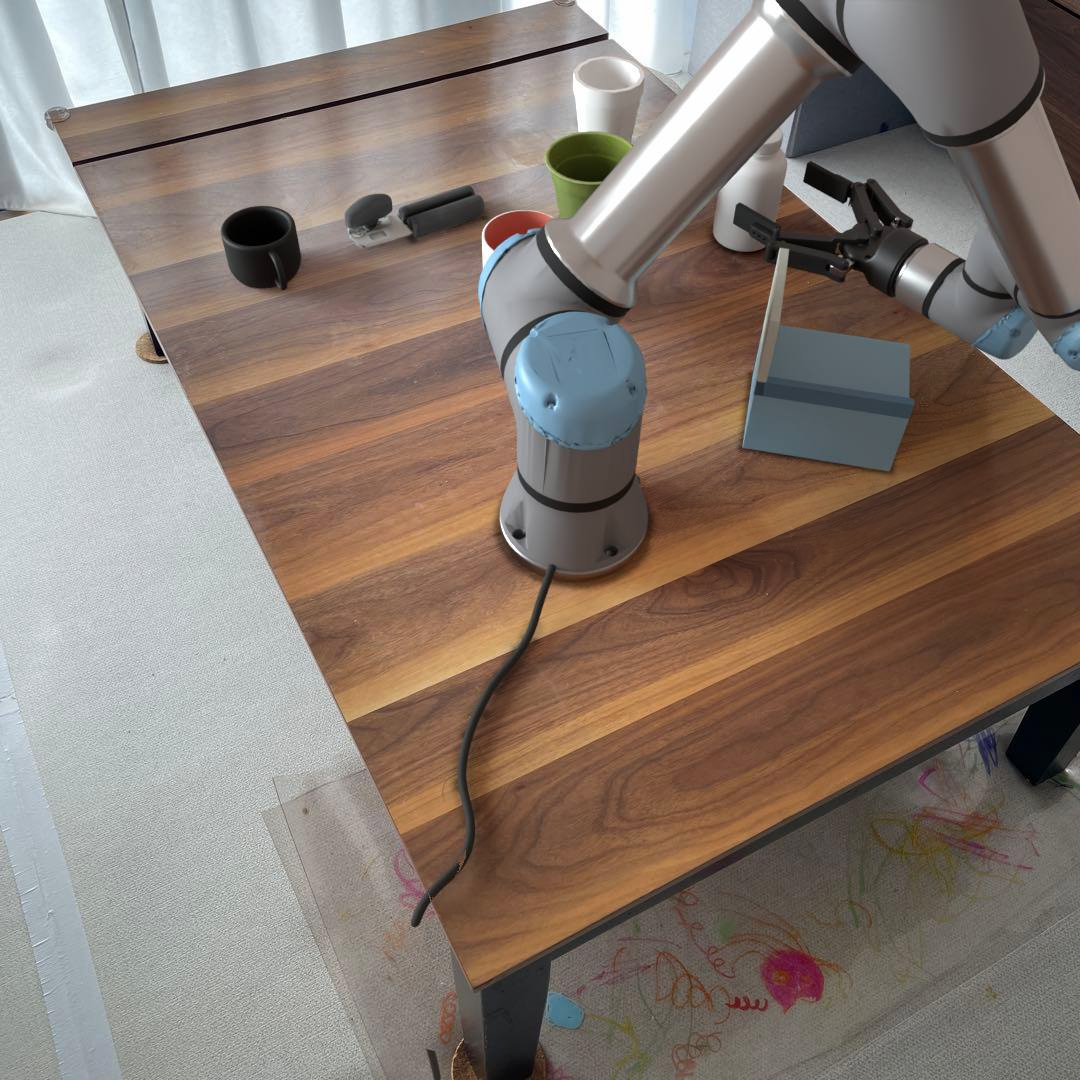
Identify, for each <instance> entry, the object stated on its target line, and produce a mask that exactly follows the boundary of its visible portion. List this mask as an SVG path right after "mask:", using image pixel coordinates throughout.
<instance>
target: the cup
mask: <svg viewBox="0 0 1080 1080" xmlns="http://www.w3.org/2000/svg"><path fill="white" fill-rule="evenodd" d="M552 218H555V217H554V216H552V215H550V214H548V213H545V212H542V211H538V210H532V209H517V210H511V211H507V212H503V213H500V214H498V215H496V216H495V217H493V218H492V219H490V220H489V221H488V222H487V223H486V224H485V226H484V227H483V228H482V232H481V245H482V246H481V250H482V252H481V253H482V268H483V267H484V265H485V263H486V261H487V260H488V258H489V257H490V255H491V254H492V253H493V251H494V250H495V249H496V248H497V247H498V246H499V245H500V244H501V243H503V242H504V241H505V240H507V239H508V238H510V237H511V236H513V235H515V234H517V233H518V234H520V235H523V234H527V232H528V230H530V229H535V228H542V227H543V226H544V225H545V224H546V223H547V222H548V221H549V220H550V219H552Z"/></svg>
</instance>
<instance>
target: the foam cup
mask: <svg viewBox="0 0 1080 1080" xmlns="http://www.w3.org/2000/svg"><path fill="white" fill-rule="evenodd" d="M645 77H646V76H645V73H644V69H643V68H642V67H641V66H640V65H638V64H637V63H635V62H634V61H632V60H630V59H626V58H623V57H619V56H606V55H604V56H603V55H602V56H597V57H591V58H587V59H586V60H584V61H582V62H580V63H578V64H577V65H576V67H575V69H574V70H573V77H572V79H573V80H572V91H573V95H574V99H575V107H576V118H577V128H578V132H588V131H597V132H605V133H610V134H614V135H617V136H619V137H622V138H624V139H626V140H627V141H629V142H630V143H631V144H632V139H633V134H634V130H635V126H636V121H637V117H638V111H639V107H640V103H641V99H642V96H643V94H644V90H645V79H646V78H645Z"/></svg>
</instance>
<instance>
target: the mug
mask: <svg viewBox="0 0 1080 1080" xmlns="http://www.w3.org/2000/svg"><path fill="white" fill-rule="evenodd" d="M220 238H221V241H222V246H223V250H224V253H225V256H226V261H227V264H228V268H229V271H230V272H231V274H232V275H233V277H234V278H235V279H236V280H237V281H238V282H239V283H241V284H242V285H243V286H246V287H249V288H251V289H252V288H253V289H258V290H259V289H260V290H265V289H266V290H267V289H273V288H278V289H279V290H280V291H285V290H287V289H288V282H290V281H291V280H292V279H293V278H295V276H296V275H297V274H298V272H299V270H300V267H301V263H302V253H301V252H302V251H301V248H300V243H299V242H300V241H299V237H298V232H297V226H296V223H295V220H294V217H292V215H291V214H290V213H289V212H287V211H286V210H284V209H282V208H279V207H276V206H271V205H253V206H248V207H244V208H241V209H239V210H237V211H235V212H233V213H232V214H230V215H229V216H228V217H227V218H226V219H225V220H224V221H223V223H222V225H221V227H220Z"/></svg>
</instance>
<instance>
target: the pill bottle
mask: <svg viewBox="0 0 1080 1080" xmlns="http://www.w3.org/2000/svg"><path fill="white" fill-rule="evenodd" d="M783 140H784V132H783V130H782V129H781V128H780V127H779V128H778V129H777V130H776V131H775V132H774V133H773V134H772V136H771V137H770V138H769V139H768V140H767V141H766V142H765V143H764V144H763V145H762V146H761V147H760V148H759V149H758V150H757V152H756V153H755V154H754V155H753V156H752V157H751V158H750V159H749V160H748V161H747V162H746V163H745V164H744V165H743V167H742V168H741V169H740V170H739V171H738V172H737V173H736V174H735V175H734V176H733V177H732V178H731V179H730V180H729V182H728V183H727V184H726V185H725V186H724V187H723V188H722V189H721V190H720V191H719V192H718V193H717V198H716V199H717V200H716V205H715V212H714V218H713V224H712V233H713V237H714V239H715V240H716V242H718V243H719V244H720V245H722V246H723V247H725V248H727V249H729V250H732V251H736V252H742V253H743V252H744V253H749V252H756V251H760V250H762V249H764V248H766V247H767V246H765V245H764V244H762V243H760V242H759V241H758V240H755V239H754V238H752V237H751V236H750V235H749V233H748V232H746V231H745V230H743V229H741V228H739V227H738V226H736V225H734V224H733V219H734V213H735V207H736V204H738V203H742V204H744V205H746V206H747V207H749V208H751V209H753V210H754V211H756V212H758V213H759V214H761V215H763V216H765V217H766V218H768V219H770V220H772V221H773V222H775V223H777V217H778V213H779V209H780V208H779V207H780V203H781V200H782V199H781V198H782V195H783V190H784V185H785V184H784V183H785V180H786V175H787V171H788V159H787V155H786V153H785V152H784V151H783V149H782V145H783Z"/></svg>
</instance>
